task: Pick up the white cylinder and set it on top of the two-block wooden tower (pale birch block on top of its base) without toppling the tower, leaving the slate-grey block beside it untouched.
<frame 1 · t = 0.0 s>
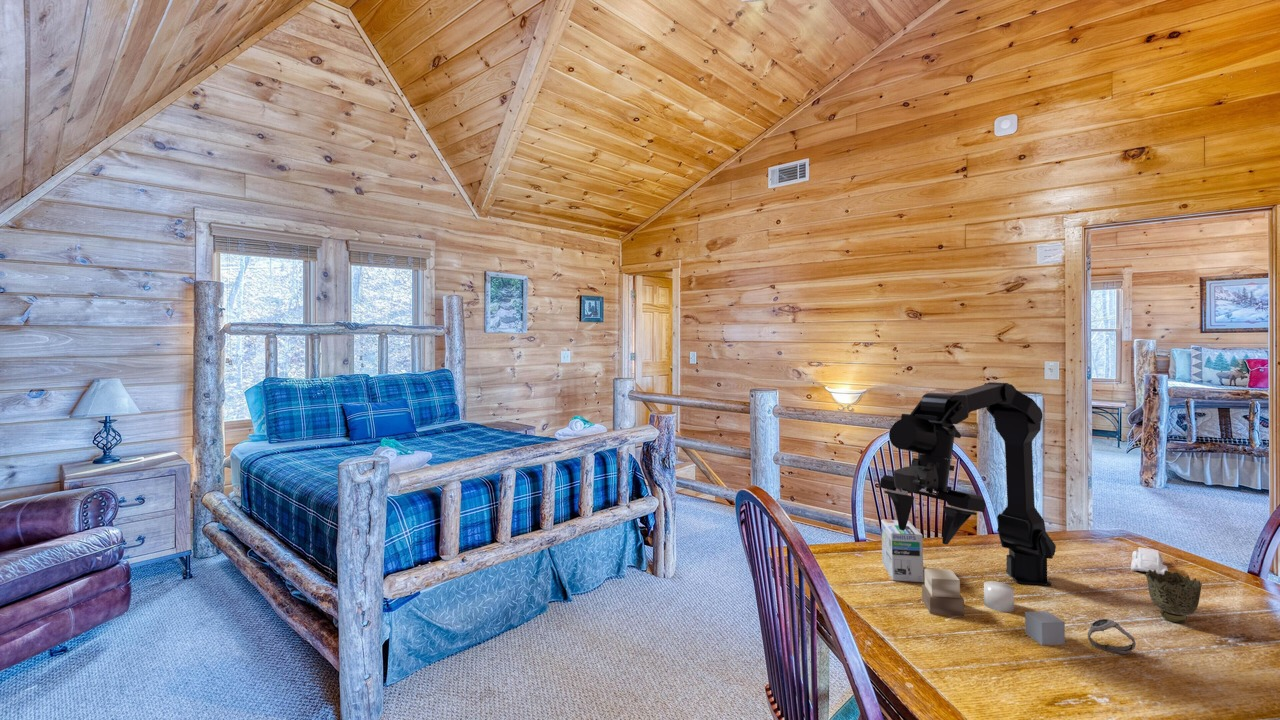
hand: (922, 536, 106), 15 cm above the table, tool pointing down, fingers open, 9 cm apart
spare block: (1044, 639, 97), on the table
tower base: (942, 609, 109), on the table, touching tower top
wristwatch: (1111, 651, 93), on the table
light bulb box: (901, 573, 126), on the table
cup: (1173, 620, 102), on the table
white cylinder: (998, 606, 109), on the table
tower top: (941, 591, 109), point 3 cm above the table, touching tower base
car: (1148, 569, 126), on the table
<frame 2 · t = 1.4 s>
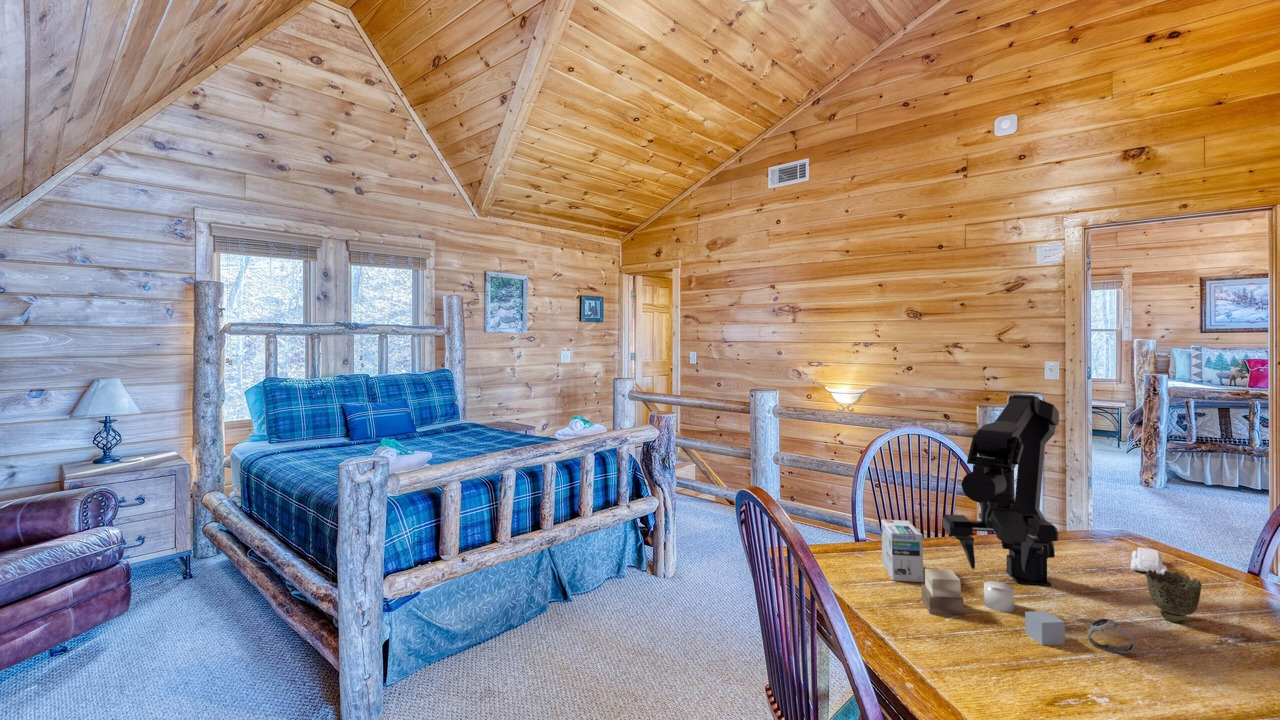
hand: (998, 569, 109), 7 cm above the table, tool pointing down, fingers open, 9 cm apart
nothing on the table moved.
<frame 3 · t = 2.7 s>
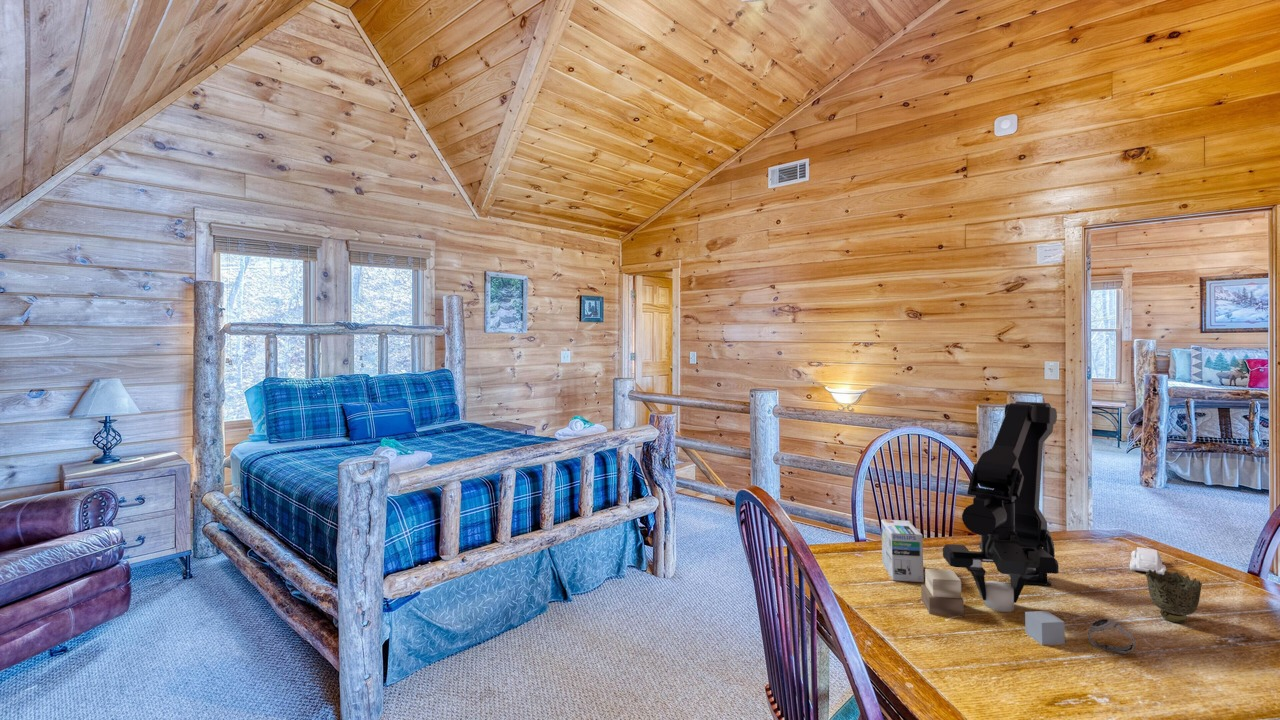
hand: (998, 600, 109), 1 cm above the table, tool pointing down, fingers closed on white cylinder, 5 cm apart
tower base: (941, 609, 109), on the table
white cylinder: (998, 605, 109), on the table, touching gripper
tower top: (942, 591, 109), point 3 cm above the table
everything else where it was.
when the fingers open (9 cm above the table, at t = 5.3 s): white cylinder drops 2 cm, resting on tower top.
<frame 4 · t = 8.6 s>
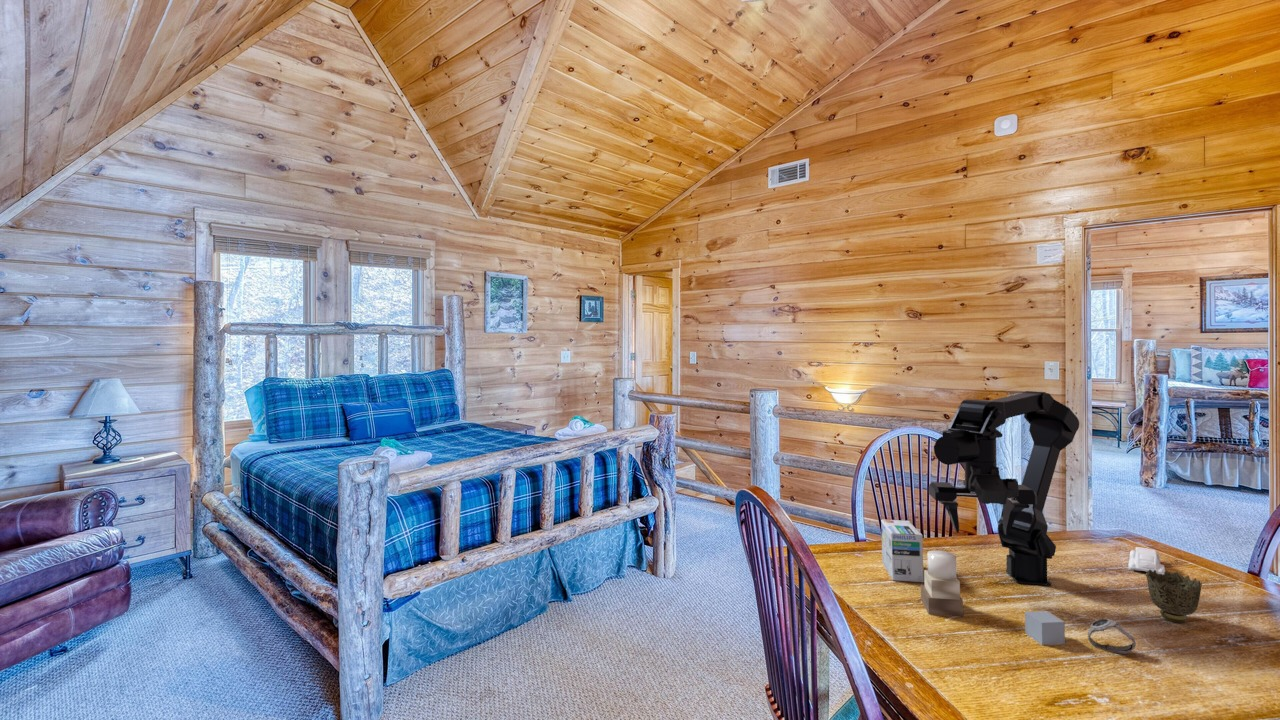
hand: (981, 533, 115), 13 cm above the table, tool pointing down, fingers open, 9 cm apart
tower base: (941, 609, 109), on the table, touching tower top
white cylinder: (941, 574, 109), point 7 cm above the table, touching tower top
tower top: (941, 593, 108), point 3 cm above the table, touching white cylinder, tower base
everything else where it was.
at the end: white cylinder 0.5 cm off-centre on the tower top, point 3.5 cm above the tower top's base; tower top tilted 0°; tower top 0.5 cm from the tower base (horizontally) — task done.
